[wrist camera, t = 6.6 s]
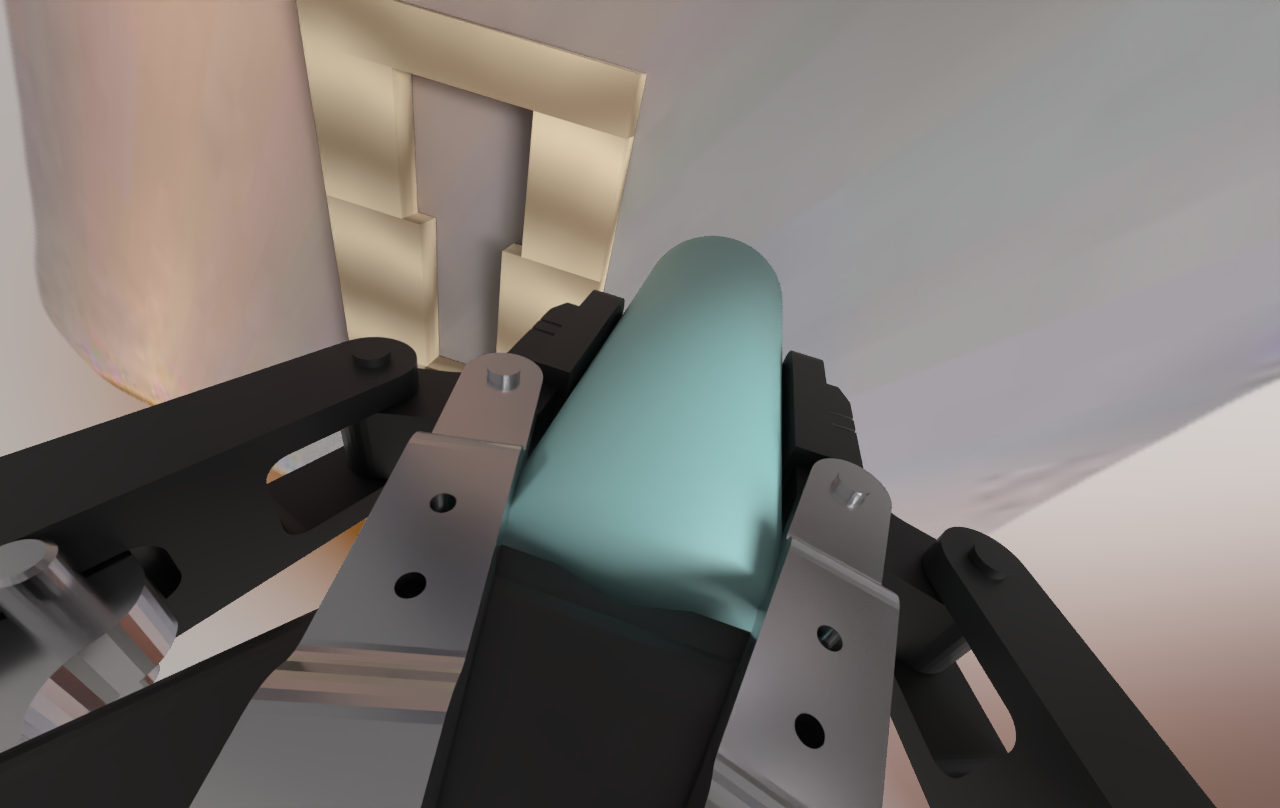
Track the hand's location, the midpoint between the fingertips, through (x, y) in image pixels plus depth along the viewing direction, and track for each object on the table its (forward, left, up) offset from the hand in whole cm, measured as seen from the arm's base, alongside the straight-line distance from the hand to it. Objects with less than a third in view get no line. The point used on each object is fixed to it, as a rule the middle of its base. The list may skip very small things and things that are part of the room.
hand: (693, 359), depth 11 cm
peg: (0, 0, -3) cm, 3 cm away
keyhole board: (+14, +7, -15) cm, 22 cm away
